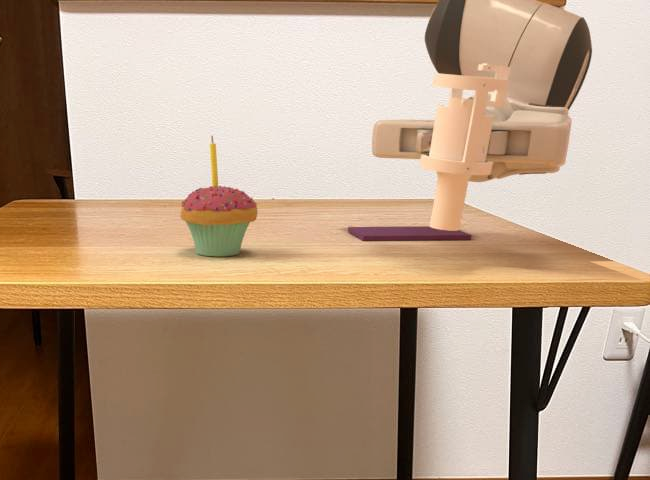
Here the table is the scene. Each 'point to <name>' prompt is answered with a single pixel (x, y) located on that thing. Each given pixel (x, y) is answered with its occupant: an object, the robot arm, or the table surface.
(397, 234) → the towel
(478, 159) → the peach tall flanged fixture
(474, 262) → the table surface
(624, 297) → the table surface
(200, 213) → the cupcake
